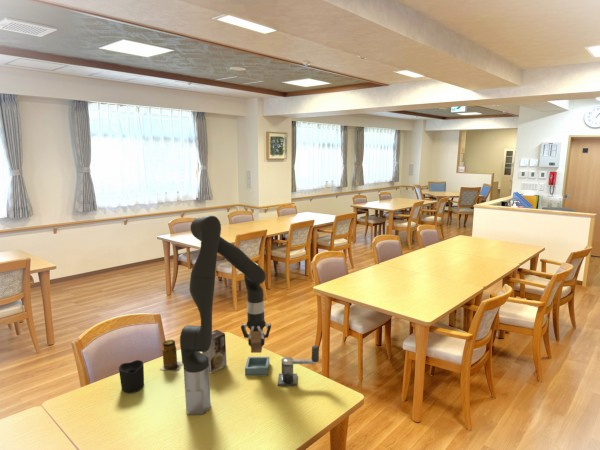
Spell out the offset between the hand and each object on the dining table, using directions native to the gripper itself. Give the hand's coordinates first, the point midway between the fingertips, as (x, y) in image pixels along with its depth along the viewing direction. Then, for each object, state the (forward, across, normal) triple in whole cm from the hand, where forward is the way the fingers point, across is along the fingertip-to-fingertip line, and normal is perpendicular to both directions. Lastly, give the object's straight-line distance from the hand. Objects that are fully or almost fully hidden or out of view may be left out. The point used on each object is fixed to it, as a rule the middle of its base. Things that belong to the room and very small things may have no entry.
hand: (256, 345), depth 176 cm
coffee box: (+12, -20, +2) cm, 23 cm away
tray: (+12, 0, 0) cm, 12 cm away
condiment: (+12, -40, +3) cm, 42 cm away
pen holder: (+12, -51, -14) cm, 54 cm away
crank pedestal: (+12, +14, -2) cm, 18 cm away
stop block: (+2, 0, 0) cm, 2 cm away
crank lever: (+3, +20, -9) cm, 22 cm away
